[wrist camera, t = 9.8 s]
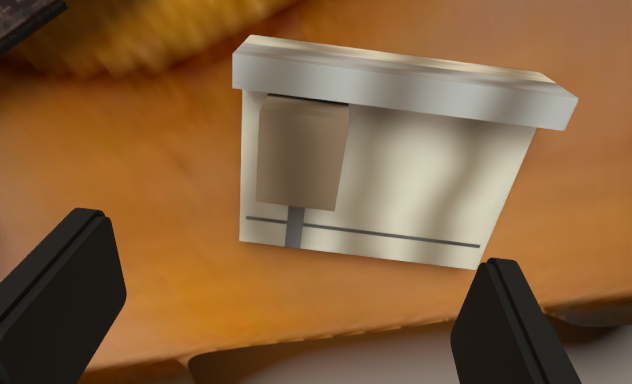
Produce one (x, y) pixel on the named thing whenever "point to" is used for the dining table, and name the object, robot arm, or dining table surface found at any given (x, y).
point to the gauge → (300, 156)
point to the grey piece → (399, 147)
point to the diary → (25, 19)
